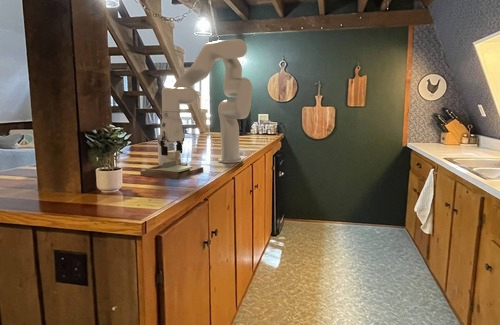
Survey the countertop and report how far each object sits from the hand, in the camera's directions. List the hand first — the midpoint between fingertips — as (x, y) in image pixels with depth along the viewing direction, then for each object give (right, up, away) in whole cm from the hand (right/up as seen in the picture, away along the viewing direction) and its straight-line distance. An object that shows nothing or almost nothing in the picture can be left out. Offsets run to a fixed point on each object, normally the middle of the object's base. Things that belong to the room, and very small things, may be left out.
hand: (172, 154), depth 161 cm
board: (+1, -8, -4) cm, 9 cm away
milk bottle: (-6, -5, +18) cm, 20 cm away
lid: (+5, -7, -11) cm, 14 cm away
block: (+1, -6, +1) cm, 6 cm away
